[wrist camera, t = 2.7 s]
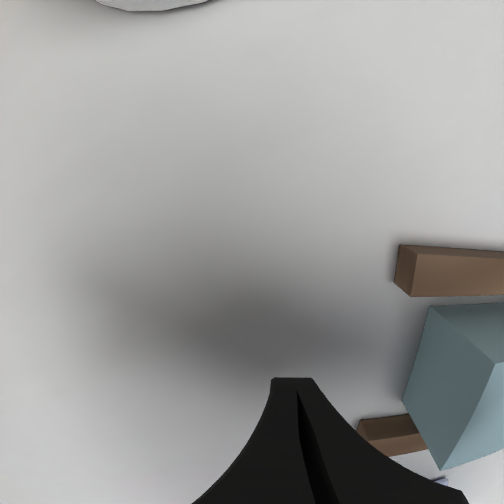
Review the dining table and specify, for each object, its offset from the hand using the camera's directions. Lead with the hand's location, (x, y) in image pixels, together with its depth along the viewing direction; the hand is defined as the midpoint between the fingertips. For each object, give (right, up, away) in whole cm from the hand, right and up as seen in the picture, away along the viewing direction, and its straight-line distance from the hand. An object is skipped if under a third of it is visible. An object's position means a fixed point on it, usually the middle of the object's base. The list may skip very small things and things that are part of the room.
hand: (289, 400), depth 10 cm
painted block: (+10, 0, +2) cm, 10 cm away
